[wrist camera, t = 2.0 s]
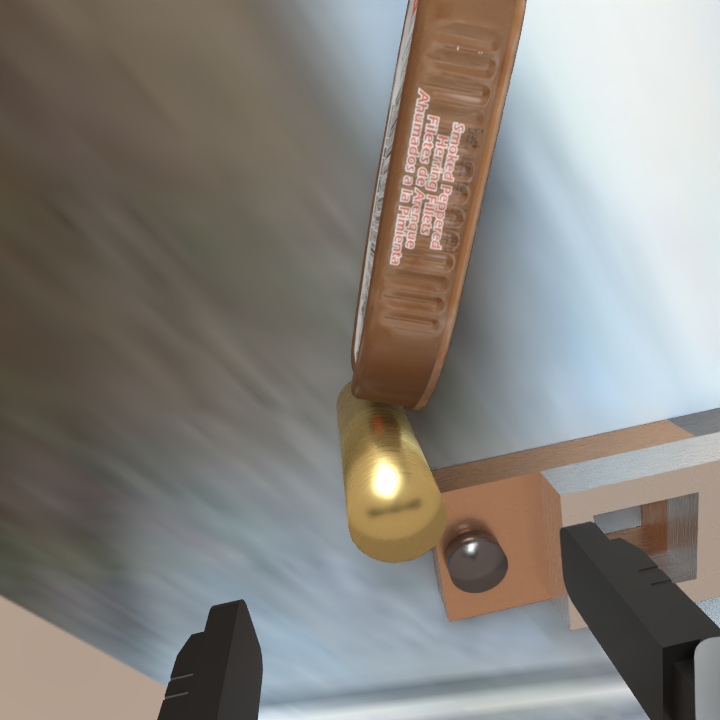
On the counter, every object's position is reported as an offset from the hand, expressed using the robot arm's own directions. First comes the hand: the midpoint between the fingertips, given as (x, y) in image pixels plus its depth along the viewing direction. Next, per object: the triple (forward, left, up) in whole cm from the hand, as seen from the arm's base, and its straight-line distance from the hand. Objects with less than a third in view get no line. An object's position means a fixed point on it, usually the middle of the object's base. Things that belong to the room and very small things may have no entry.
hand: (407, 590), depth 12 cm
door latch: (+8, +11, -12) cm, 18 cm away
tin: (-9, +3, -12) cm, 15 cm away
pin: (0, 0, -12) cm, 12 cm away
